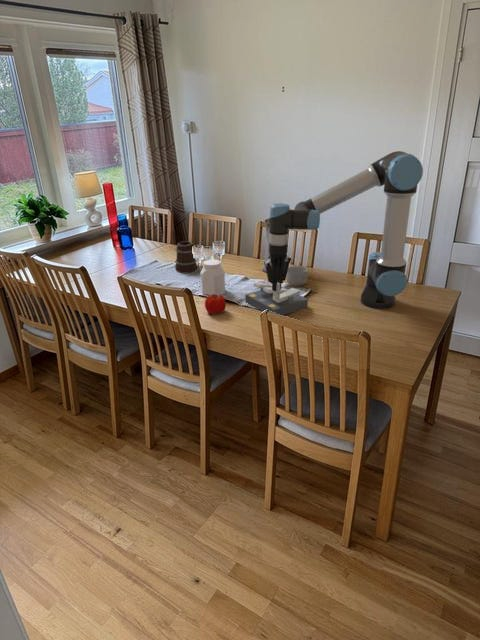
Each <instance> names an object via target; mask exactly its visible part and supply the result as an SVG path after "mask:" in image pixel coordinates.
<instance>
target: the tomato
mask: <svg viewBox="0 0 480 640" xmlns="http://www.w3.org/2000/svg"><path fill="white" fill-rule="evenodd" d="M226 306H227V301H226V299H225V297H224V295H223V294H222V295H219V296H217V295H216V294H212V295H208V296H207V297H206V298H205V300H204V309H205V310H206V312H208V313H209V314H210V315H211V314H212V315H216V314H221V313H224V312H225V310H226Z"/></svg>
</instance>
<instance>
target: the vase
mask: <svg viewBox="0 0 480 640" xmlns="http://www.w3.org/2000/svg"><path fill="white" fill-rule="evenodd" d="M264 226H265V234H266V235H265V238H266V239H265V240H266V243H265V244H266V250H265V259H264V262H267V261H268V260H269V256H270V253H269V244H270V242H269V233H270V217H269V218H266V219H264ZM262 271H263V273H267V271H266V266H265V265H264V264H263V267H262Z"/></svg>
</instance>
